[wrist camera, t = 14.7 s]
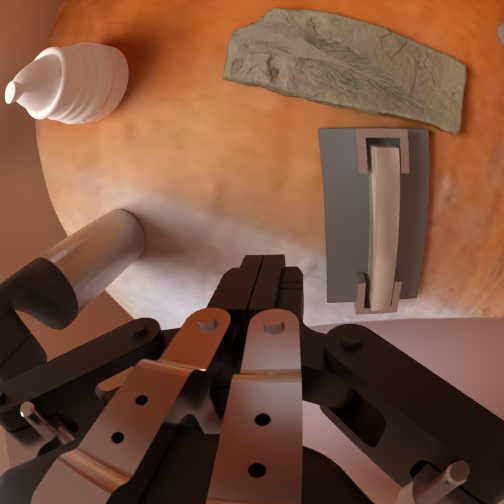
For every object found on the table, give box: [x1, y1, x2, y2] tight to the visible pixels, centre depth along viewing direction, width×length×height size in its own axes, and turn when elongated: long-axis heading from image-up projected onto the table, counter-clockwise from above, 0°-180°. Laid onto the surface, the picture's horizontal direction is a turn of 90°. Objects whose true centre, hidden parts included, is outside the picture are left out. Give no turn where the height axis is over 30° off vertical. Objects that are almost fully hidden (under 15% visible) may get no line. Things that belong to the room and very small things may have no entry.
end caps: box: [352, 128, 409, 315], centre depth 32 cm, size 6×24×3 cm, turn 8°
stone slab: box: [222, 8, 466, 135], centre depth 25 cm, size 12×4×30 cm
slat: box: [367, 144, 400, 311], centre depth 31 cm, size 2×20×5 cm, turn 8°
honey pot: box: [5, 42, 129, 124], centre depth 25 cm, size 13×13×18 cm
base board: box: [318, 128, 430, 303], centre depth 34 cm, size 14×24×2 cm, turn 8°
